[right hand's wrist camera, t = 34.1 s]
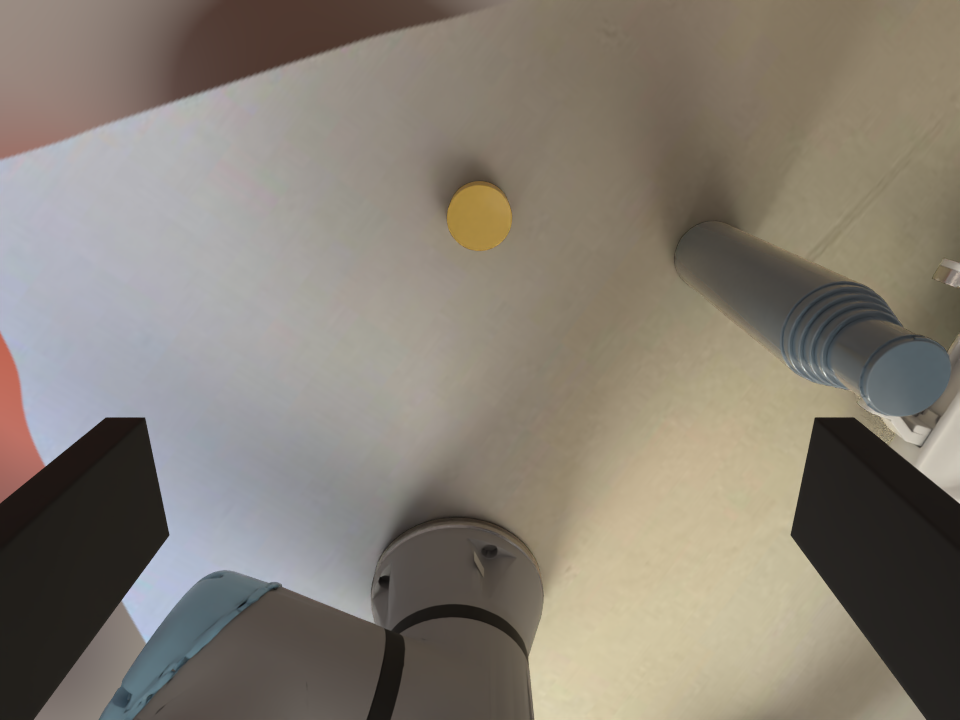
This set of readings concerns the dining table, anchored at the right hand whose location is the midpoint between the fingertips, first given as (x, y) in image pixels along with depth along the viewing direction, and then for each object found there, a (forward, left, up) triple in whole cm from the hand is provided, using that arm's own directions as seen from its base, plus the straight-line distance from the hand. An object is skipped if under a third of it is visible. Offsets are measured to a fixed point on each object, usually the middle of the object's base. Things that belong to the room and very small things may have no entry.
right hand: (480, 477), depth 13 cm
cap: (0, 0, -36) cm, 36 cm away
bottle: (-9, -15, -36) cm, 40 cm away
